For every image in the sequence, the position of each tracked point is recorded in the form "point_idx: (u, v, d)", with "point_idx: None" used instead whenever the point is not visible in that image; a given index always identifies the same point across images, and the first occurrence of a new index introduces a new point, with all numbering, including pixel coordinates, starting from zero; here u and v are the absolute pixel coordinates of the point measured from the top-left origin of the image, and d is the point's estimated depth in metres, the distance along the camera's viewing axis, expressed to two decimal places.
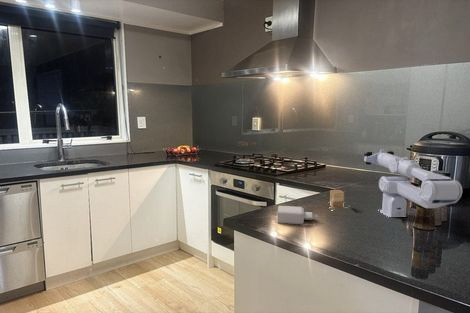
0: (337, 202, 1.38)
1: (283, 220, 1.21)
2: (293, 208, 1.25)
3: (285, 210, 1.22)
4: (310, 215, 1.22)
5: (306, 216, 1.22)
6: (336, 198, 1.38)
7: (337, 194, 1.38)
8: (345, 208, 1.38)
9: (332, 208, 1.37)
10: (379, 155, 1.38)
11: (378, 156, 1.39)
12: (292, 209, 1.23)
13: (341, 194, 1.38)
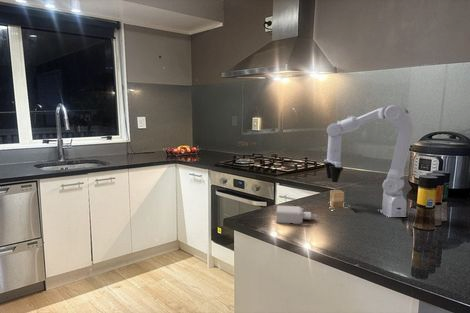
0: (337, 202, 1.38)
1: (282, 220, 1.21)
2: (292, 208, 1.25)
3: (284, 210, 1.23)
4: (309, 215, 1.22)
5: (305, 216, 1.22)
6: (336, 198, 1.38)
7: (337, 194, 1.38)
8: (345, 208, 1.38)
9: (332, 208, 1.37)
10: (331, 157, 1.44)
11: (332, 157, 1.43)
12: (291, 209, 1.24)
13: (341, 194, 1.38)
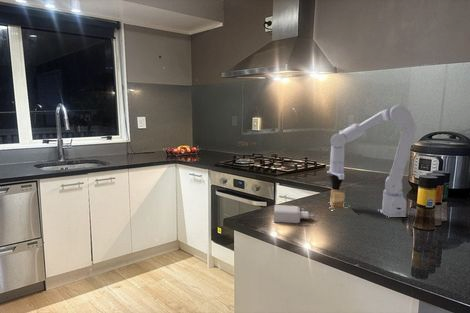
0: (337, 202, 1.38)
1: (280, 219, 1.22)
2: (289, 207, 1.26)
3: (281, 209, 1.23)
4: (306, 214, 1.23)
5: (302, 215, 1.23)
6: (337, 199, 1.37)
7: (338, 195, 1.37)
8: (345, 208, 1.38)
9: (332, 208, 1.37)
10: (334, 169, 1.38)
11: (335, 169, 1.38)
12: (289, 208, 1.24)
13: (342, 195, 1.37)
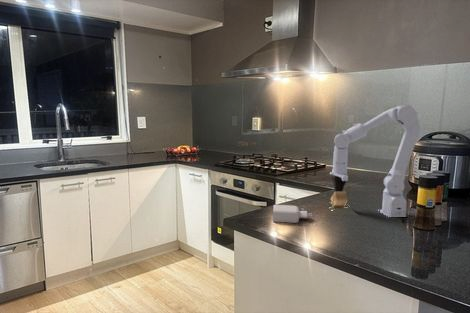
0: (338, 205, 1.37)
1: (279, 219, 1.22)
2: (288, 207, 1.26)
3: (280, 209, 1.24)
4: (305, 214, 1.23)
5: (301, 215, 1.23)
6: (338, 203, 1.35)
7: (340, 202, 1.34)
8: (345, 208, 1.38)
9: (332, 208, 1.37)
10: (337, 170, 1.34)
11: (338, 170, 1.34)
12: (288, 208, 1.25)
13: (344, 202, 1.34)
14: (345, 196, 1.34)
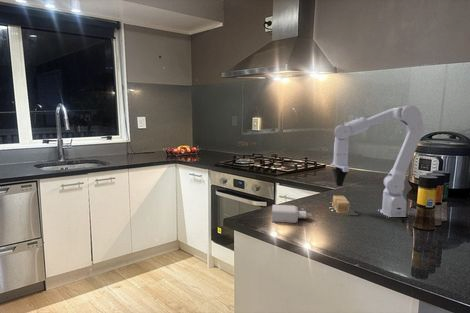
0: None
1: (278, 219, 1.22)
2: (287, 207, 1.26)
3: (279, 209, 1.24)
4: (304, 214, 1.23)
5: (300, 215, 1.23)
6: None
7: None
8: None
9: (332, 208, 1.37)
10: (337, 161, 1.34)
11: (339, 162, 1.33)
12: (286, 208, 1.25)
13: None
14: (347, 208, 1.32)
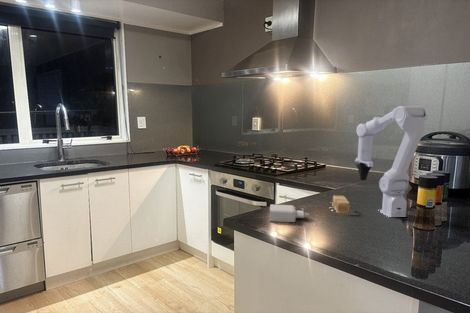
0: None
1: (275, 219, 1.23)
2: (285, 207, 1.27)
3: (277, 209, 1.24)
4: (301, 213, 1.24)
5: (297, 214, 1.23)
6: None
7: None
8: None
9: (332, 208, 1.37)
10: (362, 157, 1.46)
11: (363, 157, 1.45)
12: (284, 208, 1.25)
13: None
14: (347, 208, 1.32)
